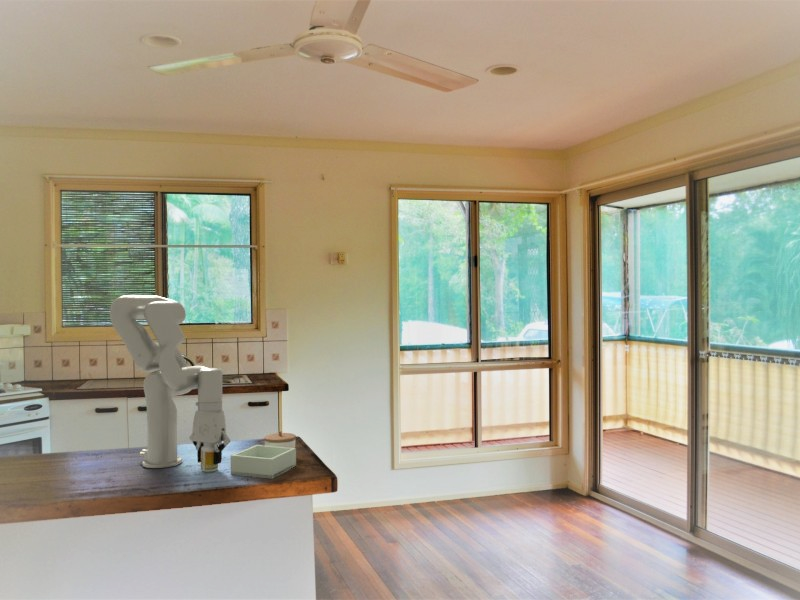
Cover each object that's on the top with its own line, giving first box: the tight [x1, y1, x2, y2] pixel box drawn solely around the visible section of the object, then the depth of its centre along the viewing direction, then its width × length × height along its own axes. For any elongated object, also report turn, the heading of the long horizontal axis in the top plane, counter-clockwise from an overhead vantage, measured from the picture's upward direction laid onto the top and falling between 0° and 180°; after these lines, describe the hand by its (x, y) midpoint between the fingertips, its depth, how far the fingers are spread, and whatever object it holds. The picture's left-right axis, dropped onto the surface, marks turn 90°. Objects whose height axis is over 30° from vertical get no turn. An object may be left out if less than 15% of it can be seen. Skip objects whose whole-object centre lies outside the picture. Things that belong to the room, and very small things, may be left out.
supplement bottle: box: [200, 443, 219, 473], centre depth 202 cm, size 5×5×10 cm
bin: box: [230, 444, 297, 480], centre depth 202 cm, size 15×15×6 cm
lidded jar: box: [263, 430, 297, 448], centre depth 217 cm, size 11×11×9 cm
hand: (209, 461), depth 202 cm, fingers closed on supplement bottle, 5 cm apart
